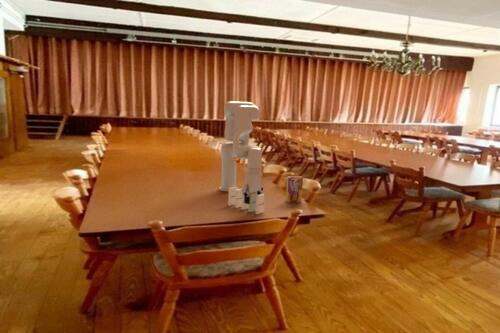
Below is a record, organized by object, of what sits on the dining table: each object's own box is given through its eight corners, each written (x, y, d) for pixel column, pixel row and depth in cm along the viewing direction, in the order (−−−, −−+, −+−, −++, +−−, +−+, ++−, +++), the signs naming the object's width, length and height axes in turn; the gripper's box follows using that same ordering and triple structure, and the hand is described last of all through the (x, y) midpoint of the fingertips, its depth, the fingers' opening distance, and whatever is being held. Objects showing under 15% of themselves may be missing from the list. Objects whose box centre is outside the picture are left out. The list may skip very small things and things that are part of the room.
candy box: (299, 200, 211) (301, 176, 208) (301, 202, 207) (303, 177, 204) (285, 200, 210) (287, 175, 207) (287, 202, 206) (288, 177, 203)
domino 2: (234, 207, 192) (235, 189, 191) (240, 205, 196) (241, 188, 194) (236, 207, 191) (237, 190, 189) (242, 206, 195) (243, 188, 193)
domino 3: (241, 209, 189) (241, 191, 187) (247, 207, 193) (247, 190, 191) (243, 210, 188) (244, 192, 186) (249, 208, 192) (250, 190, 190)
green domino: (248, 211, 186) (248, 193, 184) (254, 209, 190) (254, 191, 188) (250, 212, 185) (251, 194, 183) (256, 210, 189) (257, 192, 187)
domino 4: (255, 213, 183) (256, 195, 181) (261, 211, 187) (262, 193, 185) (257, 214, 182) (258, 196, 180) (263, 212, 186) (264, 194, 184)
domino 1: (228, 205, 196) (228, 188, 194) (234, 203, 199) (234, 186, 197) (230, 205, 195) (230, 188, 193) (236, 204, 198) (236, 187, 196)
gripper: (258, 167, 192) (257, 197, 195) (237, 171, 179) (236, 203, 182) (269, 169, 187) (268, 200, 191) (248, 174, 174) (247, 206, 178)
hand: (252, 201), depth 186 cm, fingers open, 9 cm apart
